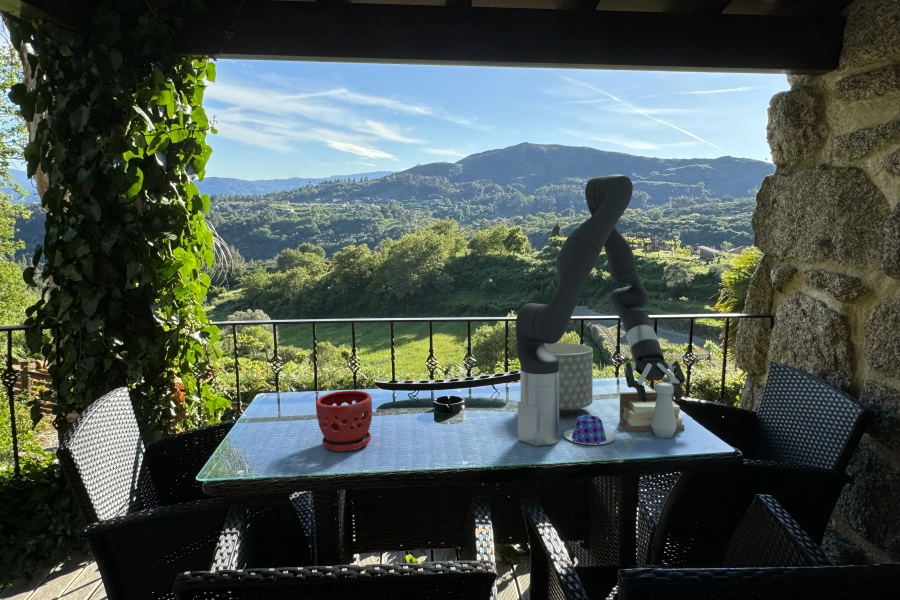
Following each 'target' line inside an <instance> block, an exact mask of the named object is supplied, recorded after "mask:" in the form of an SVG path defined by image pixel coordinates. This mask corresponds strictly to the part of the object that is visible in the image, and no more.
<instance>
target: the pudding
mask: <svg viewBox="0 0 900 600" xmlns="http://www.w3.org/2000/svg"><path fill="white" fill-rule="evenodd" d="M575 420H576V421H575V424H574V428H571V429H569V430H566V431H565V432H564V434H563V436H564V438H565V439H567V440H568V441H571V442H573V443H577V444H581V445H587V444H588V445H591V446H592V445H593V446H594V445H596V446H597V445H605V444H609V443H611V442H613V441H614V440H615V436H614V434H612V433H611V432H609V431H607V430H605V428H604V425H603V421H602V419H601V418H600V417H599V416H595V415H591V414H590V415H588V414H587V415H586V414H585V415H584V414H583V415H579V416H578V417H577V418H576V419H575ZM570 434H573V435H572V439H573V440H575V439H577V440H575V441H573V440H572V439H570V438H569V436H570ZM606 437H607V441H606ZM603 440H604V441H603ZM576 441H579V442H576ZM580 442H581V443H580ZM600 442H603V443H600ZM586 443H587V444H586ZM590 443H593V444H590ZM597 443H599V444H597Z"/></svg>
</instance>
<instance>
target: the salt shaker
mask: <svg viewBox="0 0 900 600" xmlns="http://www.w3.org/2000/svg"><path fill="white" fill-rule="evenodd" d="M654 392H656V393H658V394H657V399H656V404H655V409H654V414H653V419H652V423H651V427H652V429H653V431H652V432H654V433H653V434H654V435H655V437H658V438H662V439H671V438H672V437H673V435H674V434H675V432H676V431H677V430H676V421H675V415H674V409H673V403H672V397H671V394H673V392H674V387H673V385H672V384H669V383H664V382H657V383H656V384H655V386H654Z"/></svg>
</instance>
